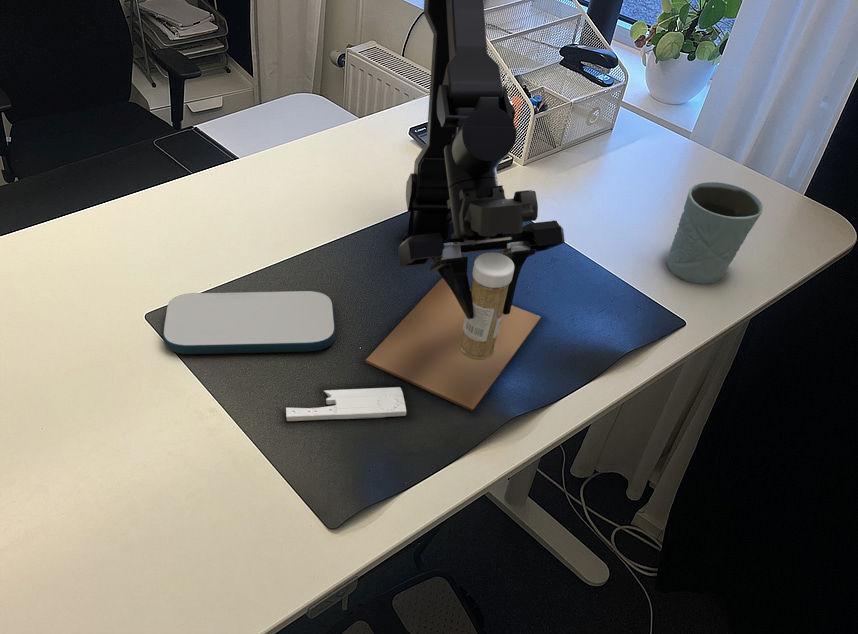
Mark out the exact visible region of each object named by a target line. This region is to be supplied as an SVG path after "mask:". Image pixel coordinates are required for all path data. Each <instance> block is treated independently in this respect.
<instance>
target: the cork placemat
mask: <svg viewBox="0 0 858 634" xmlns="http://www.w3.org/2000/svg"><path fill="white" fill-rule="evenodd" d="M470 290H471V288H470ZM464 318H465V313H464V311H463V310H462V308H461V306H460V304H459V303H458V301H457V299H456V297H455V295H454V294H453V292H452V290H451V289H450V287H449V286H448V284H447V283H446V282H445V280H444V279H443V278H442V277H441V278H440V279H439V281H437V283H436V284H435V285H433V287H432V288H430V290H429V291H428V292H427V294H425V295H424V296H423V298H422V299H421V300H420V301H419V302H418V303H417V304H416V305H415V306H414V307H413V308H412V309H411V311H409V313H408V314H407V315H406V316H405V317H404V318H403V319H402V320H401V321H400V323H398V324H397V326H396V327H395V328H393V330H392V331H391V332H390V333H389V334H388V335H387V336H386V337H385V338H384V339H383V340H382V342H381V343H380V344H379V345H378V346H377V347H376V348H375V349H374V350H373V351H372V353H371V354H370V355H368V357H367V358H366V359H365V363H366V364H368V365H370V366H372V367H375V368H376V369H379V370H381V371H383V372H385V373H388V374H390V375H391V376H394V377H397V378H398V379H401V380H403V381H404V382H407V383H409V384H412V385H413V386H416V387H418V388H419V389H423V390H424V391H427V392H429V393H431V394H433V395H435V396H438V397H440V398H442V399H444V400H446V401H449V402H450V403H452V404H455V405H457V406H460V407H462V408H463V409H466V410H468V411H470V412H474V411H475V409H476V408H477V407H478V405H479V404H480V402H481V401H482V400H483V398H484V397H485V396H486V394H487V393H488V391H489V390H490V389H491V387H492V386H493V385H494V384H495V382H496V381H497V379H498V378H499V377H500V375H501V374H502V373H503V371H505V368H506V367H507V366H508V364H509V363H510V362H511V360H512V359H513V358H514V356H515V355H516V353H517V352H518V350H520V348H521V347H522V345H523V344H524V343H525V342H526V340H527V339H528V337H529V336H530V335H531V333H532V332H533V331H534V329H535V327H536V326H537V325H538V323H539V322H540V321H541V319H542V316H539V315H537V314H535V313H533V312H531V311H527V310H524V309H522V308H520V307H518V306H515V305H512V306H511V310H510V313H509V314H507V315H504V314H502V319H501V324H500V328H499V332H498V335H497V339H496V343H495V352H494V353H493V355H492V356H491V357H490V358H488V359H485V360H474V359H471V358H468V357H467V356H465V355H463V354H462V352H461V351H460V349H459V343H460V340H461V337H462V332H463V324H464Z"/></svg>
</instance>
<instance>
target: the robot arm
mask: <svg viewBox="0 0 858 634" xmlns="http://www.w3.org/2000/svg"><path fill="white" fill-rule="evenodd" d="M484 4H485V3H484V0H423V15H424V17H425V20H426V21H427V23H428V26H429V28H430V30H431V32H432V34H433V37H432V54H431V69H430V81H429V82H430V83H429V95H428V96H429V97H428V98H429V100H428V111H427V114H428V115H427V129H426V131H427V132H426V140H425V141H426V143H425V144H424V145H423V147H422V149H421V151H420V152H419V154H417V157H416V158H415V160H414V166H413V173H412V172H411V173H409V177H408V178H407V180H406V185H405V202H406V209H407V212H409V215H408V226H407V232H406V233H405V234H403V235H402V239H401V240H402V242H401V243H400V245H399V247H398V249H397V250H398V251H397V255H398V263H399V267H402V268H403V267H412V266H413V267H414V266H421V265H425V264H426V263H427V261H428V260H429V259H430V258H431V260H432V263H433V264H431V265H430V266H429V270H430V271H437V272H438V273H439V275H440V277H441V279H442V278H443V279H444V280H445V282H446V283H447V284H448V286H449V287H450V289H451V290H452V292H453V294H454V295H455V297H456V299H457V301H458V303H459V304H460V306H461V308H462V310H463V311H464V313H465V315H466V317H467V318H468V319H473V317H474V316H473V303H472V298H471V292H470V289H471V286H470V282H469V277H468V259H469V258H468V256H462V254H470V253H479V252H480V253H481V252H488V251H489V252H491V251H496V250H497V251H499V253H500V254H503V255H505V256H507V257H509V258H510V259H511V260H512V261H513V263H514V273H513V277H512V281H511V282H510V284H509V287H508V291H507V295H506V299H505V304H504V310H503V314H504V315H507V314H509V313H510V310H511V306H513V301H514V297H515V292H516V287H517V284H518V279H519V276H520V274H521V270H522V268H523V265H524V264H525V262H526V260H527V259H528V258H529V257H531V256H534V255H535V254H536V253H538V252H544V251H548V250H550V249H552V248H555V247H558V246H561V245H563V244H565V243H566V240H565V233H564V232H565V231H564V228H563V226H562V225H561V223H559V222H558V220H549V221H538V222H535V221H536V220H537V219H538V217H539V203H538V197H537V193H536V191H535V190H533V189H528V190H527V189H526V190H518V191H515V192H514V195H513V198H506V194H505V188H504V186H503V185H502V184H499V181H498V180H499V179H498V173H497V172H498V171H497V167H498V166H499V165H500V164H501V162H502V161H503V160H504V159H505V158H506V157H507V156H508V155H509V154H510V152H511V151H512V150H513V148H514V146H515V144H516V142H517V136H518V134H517V133H518V131H517V128H516V125H515V122H514V120H515V115H516V110H515V108H514V105H513V102H512V100H511V98H510V96H509V93H508V89H507V86H505V85H504V84H503V78H502V73H501V67H500V65H499V63H497V62H496V61H495V60H494V58H492V57H491V56H490V55H489V51H488V43H487V42H488V41H487V29H486V18H485V16H486V15H485V5H484ZM525 222H530V223H527V224H525V225H523V223H525Z"/></svg>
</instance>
